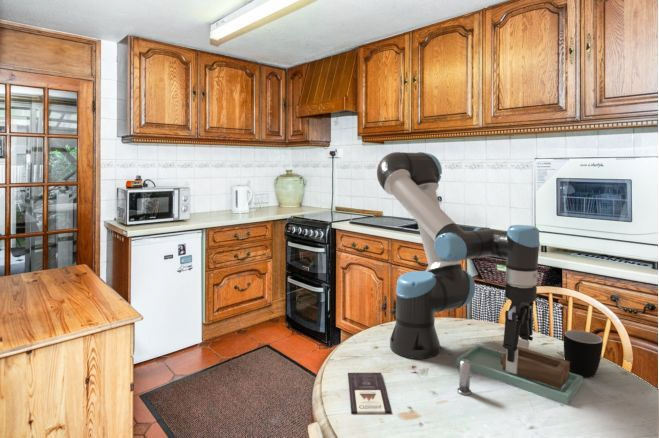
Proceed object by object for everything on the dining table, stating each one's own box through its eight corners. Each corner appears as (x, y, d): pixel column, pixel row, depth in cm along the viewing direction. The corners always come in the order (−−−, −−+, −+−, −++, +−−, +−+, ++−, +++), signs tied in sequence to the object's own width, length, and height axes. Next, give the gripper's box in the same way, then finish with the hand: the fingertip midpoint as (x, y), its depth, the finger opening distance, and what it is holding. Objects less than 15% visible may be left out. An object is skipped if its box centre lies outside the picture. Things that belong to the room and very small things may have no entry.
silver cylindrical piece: (455, 391, 102) (456, 361, 101) (461, 387, 104) (462, 357, 103) (467, 396, 99) (468, 365, 98) (473, 391, 102) (474, 361, 101)
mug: (607, 381, 106) (610, 344, 105) (570, 379, 108) (572, 342, 106) (585, 360, 118) (587, 326, 117) (552, 358, 119) (554, 325, 118)
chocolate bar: (381, 372, 111) (390, 411, 93) (381, 375, 111) (390, 415, 93) (347, 372, 111) (351, 411, 93) (347, 376, 111) (351, 415, 93)
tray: (456, 365, 115) (457, 358, 115) (477, 351, 125) (477, 344, 124) (567, 405, 96) (567, 396, 95) (582, 384, 105) (582, 376, 105)
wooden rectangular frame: (560, 388, 99) (561, 371, 99) (496, 367, 110) (497, 351, 110) (568, 378, 104) (569, 361, 104) (507, 359, 115) (507, 343, 115)
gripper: (521, 295, 98) (517, 386, 100) (548, 279, 112) (544, 359, 114) (490, 289, 103) (487, 375, 105) (520, 274, 117) (516, 351, 119)
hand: (516, 367), depth 110 cm, fingers closed on wooden rectangular frame, 7 cm apart
